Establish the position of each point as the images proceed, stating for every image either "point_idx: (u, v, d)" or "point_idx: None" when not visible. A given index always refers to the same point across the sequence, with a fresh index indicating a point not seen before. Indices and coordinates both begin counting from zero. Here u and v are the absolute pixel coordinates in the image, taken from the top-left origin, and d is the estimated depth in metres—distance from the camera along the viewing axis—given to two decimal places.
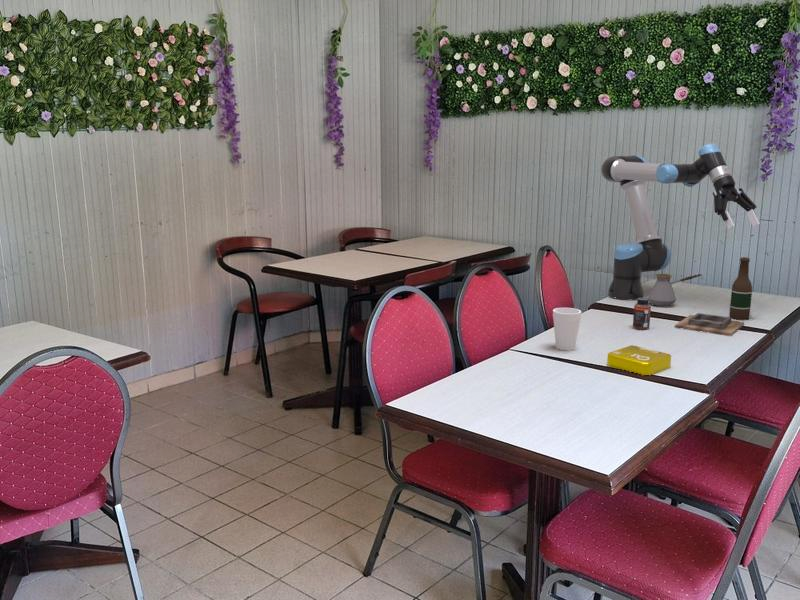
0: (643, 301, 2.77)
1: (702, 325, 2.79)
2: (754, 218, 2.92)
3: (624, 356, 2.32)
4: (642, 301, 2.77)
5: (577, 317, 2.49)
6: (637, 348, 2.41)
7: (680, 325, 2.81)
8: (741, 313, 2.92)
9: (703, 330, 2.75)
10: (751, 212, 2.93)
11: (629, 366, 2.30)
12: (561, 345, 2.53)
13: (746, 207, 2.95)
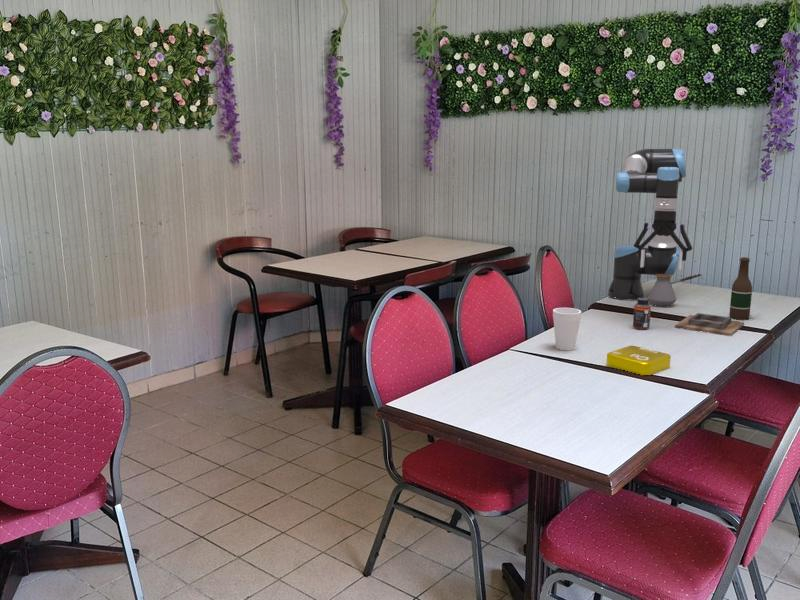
0: (643, 301, 2.77)
1: (702, 325, 2.79)
2: (679, 262, 2.71)
3: (623, 356, 2.32)
4: (642, 301, 2.77)
5: (577, 317, 2.49)
6: (637, 348, 2.41)
7: (680, 325, 2.81)
8: (741, 313, 2.92)
9: (703, 330, 2.75)
10: (680, 254, 2.71)
11: (628, 366, 2.30)
12: (561, 345, 2.53)
13: None
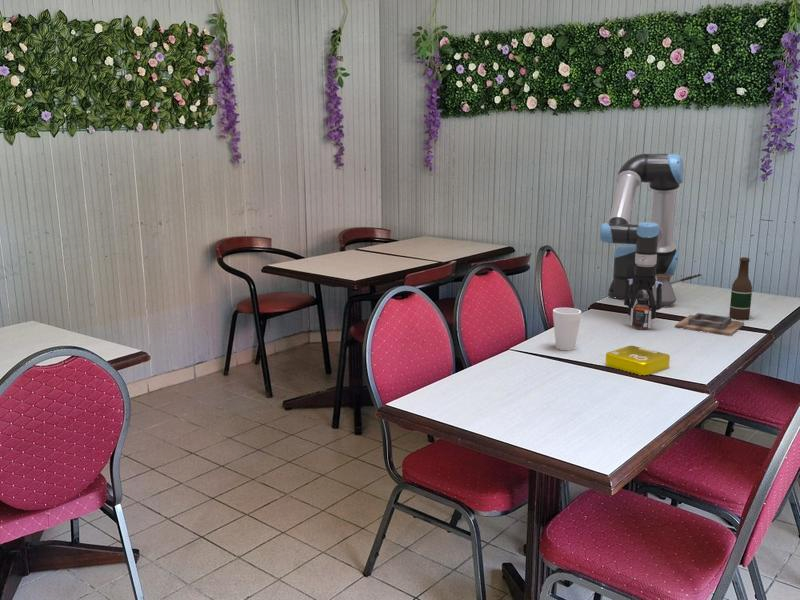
0: (643, 301, 2.77)
1: (702, 325, 2.79)
2: None
3: (622, 356, 2.32)
4: (642, 301, 2.77)
5: (577, 317, 2.49)
6: (636, 348, 2.41)
7: (680, 325, 2.81)
8: (741, 313, 2.92)
9: (703, 330, 2.75)
10: None
11: (626, 366, 2.30)
12: (561, 345, 2.53)
13: None
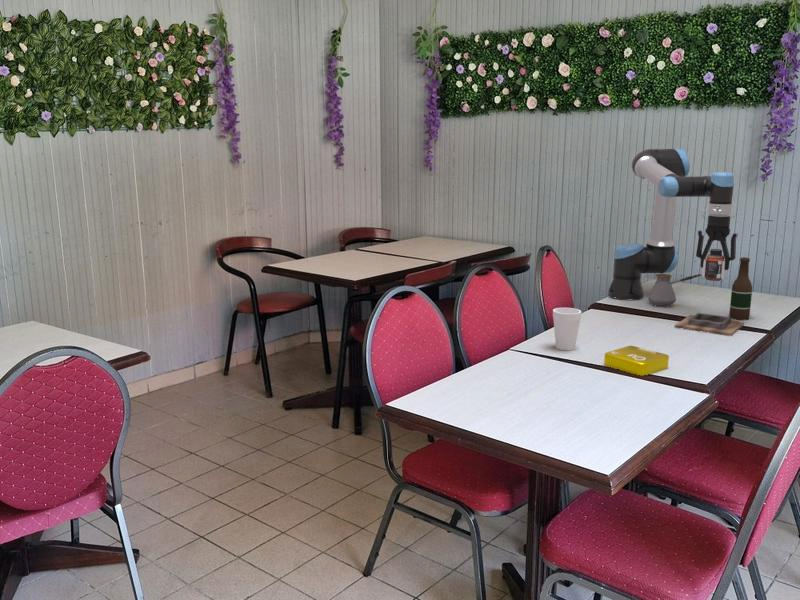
0: (717, 252, 2.75)
1: (702, 325, 2.79)
2: (722, 271, 2.77)
3: (620, 356, 2.32)
4: (715, 252, 2.76)
5: (577, 317, 2.49)
6: (635, 348, 2.41)
7: (680, 325, 2.81)
8: (741, 313, 2.92)
9: (703, 330, 2.75)
10: None
11: (625, 366, 2.30)
12: (561, 345, 2.53)
13: None
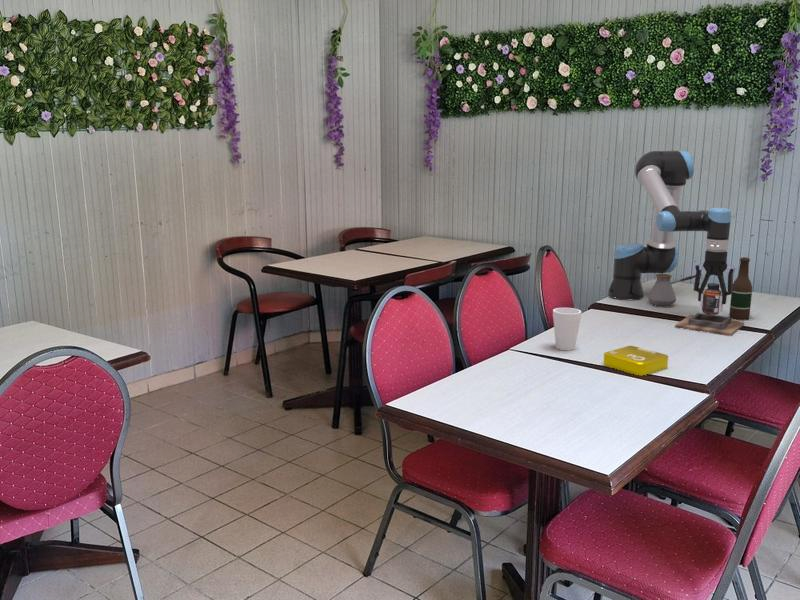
0: (714, 286, 2.78)
1: (702, 325, 2.79)
2: (719, 305, 2.79)
3: (619, 356, 2.32)
4: (713, 286, 2.78)
5: (577, 317, 2.49)
6: (635, 348, 2.41)
7: (680, 325, 2.81)
8: (741, 313, 2.92)
9: (703, 330, 2.75)
10: None
11: (624, 366, 2.30)
12: (561, 345, 2.53)
13: None
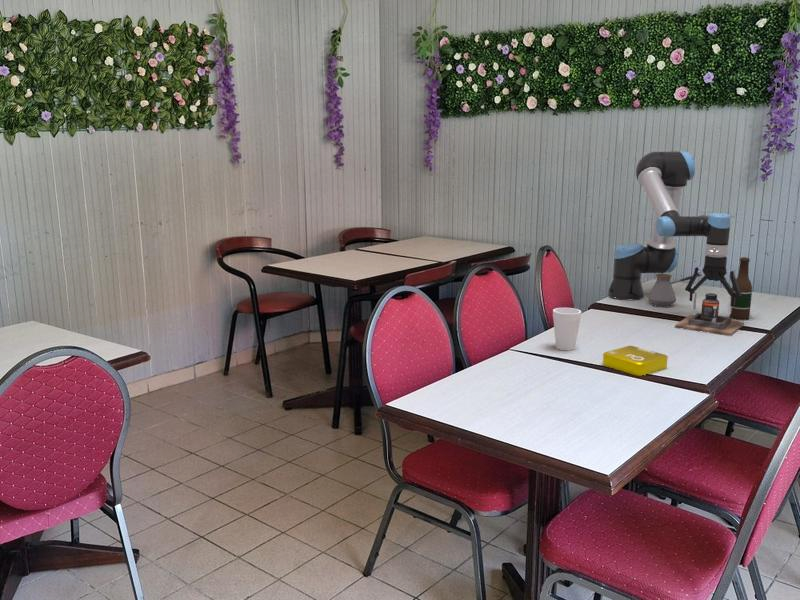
0: (712, 296, 2.79)
1: (702, 325, 2.79)
2: (728, 307, 2.78)
3: (618, 356, 2.33)
4: (710, 297, 2.80)
5: (577, 317, 2.49)
6: (634, 348, 2.41)
7: (680, 325, 2.81)
8: (741, 313, 2.92)
9: (703, 330, 2.75)
10: None
11: (623, 366, 2.30)
12: (561, 345, 2.53)
13: None
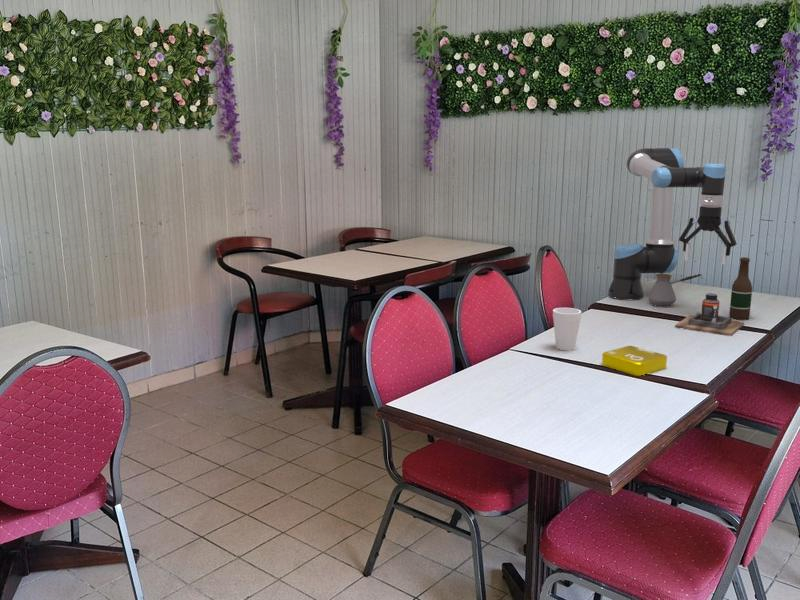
0: (712, 296, 2.79)
1: (702, 325, 2.79)
2: (723, 257, 2.80)
3: (618, 356, 2.33)
4: (710, 296, 2.80)
5: (577, 317, 2.49)
6: (634, 348, 2.41)
7: (680, 325, 2.81)
8: (741, 313, 2.92)
9: (703, 330, 2.75)
10: None
11: (622, 366, 2.30)
12: (561, 345, 2.53)
13: None
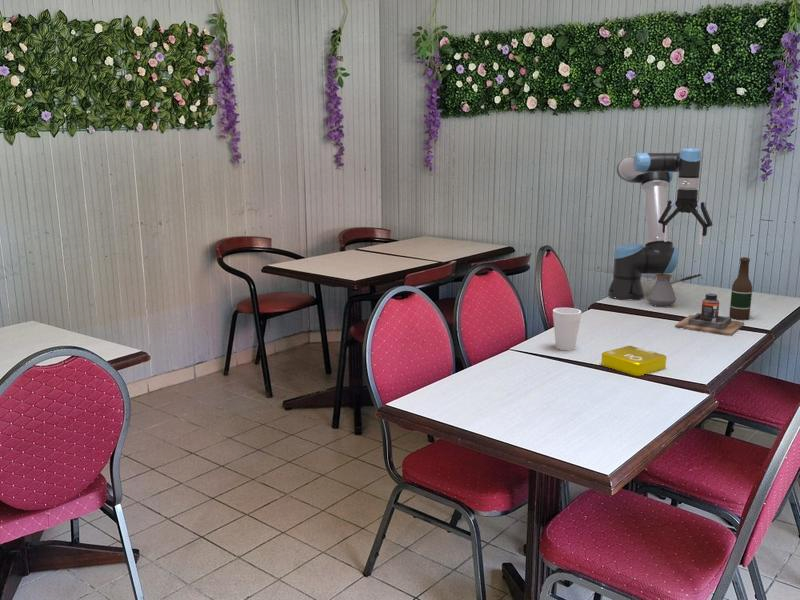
0: (712, 296, 2.79)
1: (702, 325, 2.79)
2: None
3: (617, 356, 2.33)
4: (710, 296, 2.80)
5: (577, 317, 2.49)
6: (634, 348, 2.41)
7: (680, 325, 2.81)
8: (741, 313, 2.92)
9: (703, 330, 2.75)
10: None
11: (621, 366, 2.30)
12: (561, 345, 2.53)
13: None
